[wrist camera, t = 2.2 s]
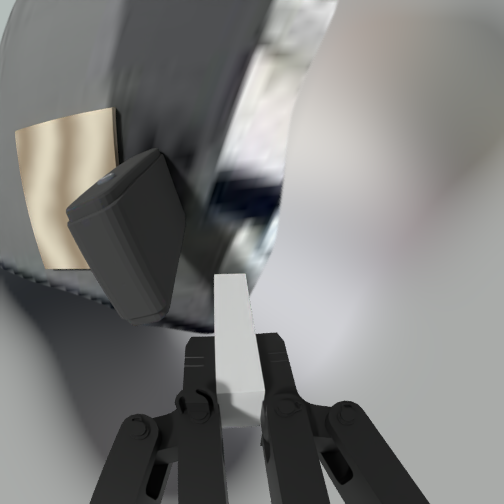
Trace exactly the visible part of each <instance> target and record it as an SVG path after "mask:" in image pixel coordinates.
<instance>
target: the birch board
mask: <svg viewBox="0 0 504 504" xmlns="http://www.w3.org/2000/svg"><path fill="white" fill-rule="evenodd" d="M15 137H16V146H17V154H18V161H19V168H20V174H21V180H22V185H23V190H24V195H25V199H26V204H27V208H28V212H29V216H30V220H31V224H32V228H33V231H34V235H35V238H36V242H37V245H38V248H39V251H40V254H41V257H42V260H43V263H44V266H45V269H90V267H89V266H88V264H87V262H86V260H85V259H84V257H83V255H82V253H81V251H80V249H79V248H78V246H77V244H76V242H75V240H74V238H73V236H72V234H71V232H70V230H69V228H68V226H67V222H68V221H69V219H68V217H67V214H66V209H67V207H68V206H69V205H70V204H71V203H73V202H74V201H75V200H76V199H77V198H78V197H79V196H80V195H82V194H83V193H84V192H85V191H86V190H88V189H89V188H90V187H91V186H92V185H94V184H95V183H96V182H97V181H98V180H99V179H101V178H102V177H104V176H105V175H106V174H108V173H109V172H110V171H112V170H113V169H114V168H116V167H117V166H119V158H118V146H117V131H116V109H115V107H113V108H107V109H101V110H96V111H91V112H86V113H81V114H76V115H72V116H67V117H63V118H59V119H55V120H51V121H47V122H44V123H40V124H37V125H33V126H30V127H27V128H23V129H20V130H17V131H15Z"/></svg>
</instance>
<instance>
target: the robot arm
mask: <svg viewBox="0 0 504 504" xmlns="http://www.w3.org/2000/svg"><path fill="white" fill-rule="evenodd" d="M214 322H215V336H211V337H191V338H190V340H189V342H188V343H187V345H186V349H185V363H184V365H185V367H184V381H183V390H182V391H181V392H180V393H179V394H178V395H177V397H176V400H175V405H176V408H177V409H176V410H175V411H173V412H172V413H170V414H167V415H163V416H159V417H155V418H151V417H149V416H147V415H144V414H135V415H131V416H129V417H128V418H126V419H125V420H124V422H123V424H122V425H121V427H120V429H119V432H118V434H117V436H116V439H115V441H114V443H113V446H112V448H111V450H110V453H109V455H108V458H107V460H106V463H105V465H104V467H103V470H102V473H101V475H100V477H99V480H98V483H97V485H96V488H95V490H94V493H93V496H92V498H91V501H90V504H160V503H161V500H162V496H163V493H164V490H165V487H166V483H167V480H168V477H169V474H170V470H171V467H172V463H173V462H177V461H178V501H179V504H229V503H228V493H227V482H226V471H225V460H224V447H223V438H222V428H237V427H252V426H260V424H261V428H262V437H261V446H263V451H264V458H265V465H266V472H267V478H268V484H269V491H270V497H271V503H272V504H330V501H329V497H328V493H327V489H326V485H325V481H324V477H323V473H322V469H321V465H320V462H321V463H322V465H323V466H324V468H325V470H326V472H327V474H328V475H329V477H330V479H331V480H332V482H333V484H334V485H335V487H336V489H337V490H338V492H339V494H340V495H341V497H342V499H343V500H344V502H345V504H430V503H429V502H428V500H427V499H426V498H425V496H424V495H423V494H422V492H421V491H420V489H419V488H418V486H417V485H416V484H415V482H414V481H413V479H412V478H411V477H410V475H409V474H408V472H407V471H406V470H405V468H404V467H403V465H402V464H401V462H400V461H399V460H398V458H397V457H396V455H395V454H394V453H393V451H392V450H391V448H390V447H389V446H388V444H387V443H386V441H385V440H384V439H383V437H382V436H381V434H380V433H379V432H378V430H377V429H376V427H375V426H374V424H373V423H372V422H371V420H370V419H369V417H368V416H367V415H366V413H365V412H364V410H363V409H362V408H361V407H360V406H359V405H358V404H356V403H354V402H351V401H341V402H338V403H336V404H335V405H333V406H332V407H327V406H319V405H314V404H310V403H308V402H306V401H305V400H303V399H302V398H301V397H300V396H299V394H298V392H297V389H296V386H295V382H294V378H293V374H292V370H291V366H290V362H289V359H288V355H287V351H286V347H285V343H284V341H283V339H282V338H281V337H280V336H279V335H278V334H277V333H263V334H255V329H254V323H253V317H252V311H251V305H250V299H249V292H248V286H247V280H246V274H214ZM319 460H320V461H319Z"/></svg>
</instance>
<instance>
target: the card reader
mask: <svg viewBox="0 0 504 504" xmlns="http://www.w3.org/2000/svg"><path fill="white" fill-rule="evenodd" d="M66 214H67V217H68V219H69V221H68V222H67V226H68V228H69V230H70V232H71V234H72V236H73V238H74V240H75V242H76V244H77V246H78V248H79V249H80V251H81V253H82V255H83V257H84V259H85V260H86V262H87V264H88V266H89V267H90V269H91V271H92V273H93V274H94V276H95V278H96V279H97V281H98V283H99V284H100V286H101V287H102V289H103V291H104V292H105V294H106V295H107V297H108V299H109V300H110V302H111V303H112V305H113V306H114V308H115V309H116V311H117V312H118V314H119V315H120V317H121V318H122V319H124V320H127V321H128V322H129V323H131V324H132V325H135V326H137V325H143V324H148V323H152V322H157V321H159V320H161V319H162V318H163V317H165V316H166V314H167V313H168V311H169V308H170V304H171V299H172V293H173V288H174V282H175V277H176V272H177V267H178V262H179V257H180V252H181V247H182V242H183V237H184V232H185V227H186V222H185V219H186V216H185V213H184V211H183V208H182V205H181V203H180V200H179V197H178V194H177V192H176V189H175V186H174V184H173V181H172V178H171V175H170V172H169V170H168V167H167V164H166V161H165V158H164V155H163V154H160V151H159V149H158V148H153V149H150V150H148V151H145V152H143V153H140V154H138V155H135V156H133V157H131V158H130V159H128V160H127V161H125V162H123V163H122V164H120V165H119V166H117V167H116V168H114V169H113V170H112V171H110V172H109V173H108V174H106V175H105V176H104V177H102V178H101V179H99V180H98V181H97V182H96V183H95V184H94V185H92V186H91V187H90V188H89V189H88V190H86V191H85V192H84V193H83V194H82V195H80V196H79V197H78V198H77V199H76V200H75V201H74V202H73V203H71V204H70V205H69V206H68V207H67V209H66Z"/></svg>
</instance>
